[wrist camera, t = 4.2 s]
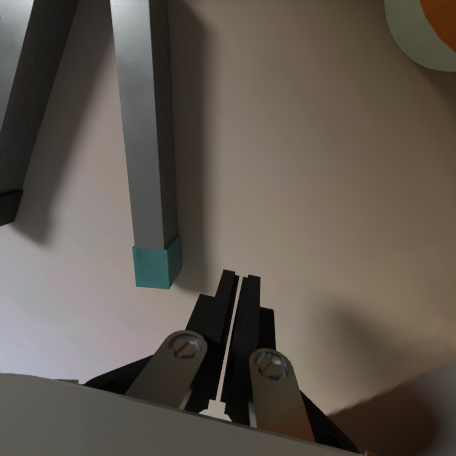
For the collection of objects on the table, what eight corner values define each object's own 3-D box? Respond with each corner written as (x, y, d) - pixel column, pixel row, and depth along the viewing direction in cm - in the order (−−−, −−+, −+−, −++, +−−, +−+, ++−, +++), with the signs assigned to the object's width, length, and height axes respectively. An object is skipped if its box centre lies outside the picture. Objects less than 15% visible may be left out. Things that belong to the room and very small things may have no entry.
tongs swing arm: (81, -96, 15) (25, -168, 11) (166, -102, 14) (134, -179, 11) (124, 264, 22) (97, 289, 19) (181, 269, 22) (165, 295, 18)
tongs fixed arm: (87, -185, 14) (31, -288, 10) (192, -110, 14) (171, -185, 11) (-15, 205, 22) (-64, 218, 19) (54, 245, 23) (18, 264, 19)
